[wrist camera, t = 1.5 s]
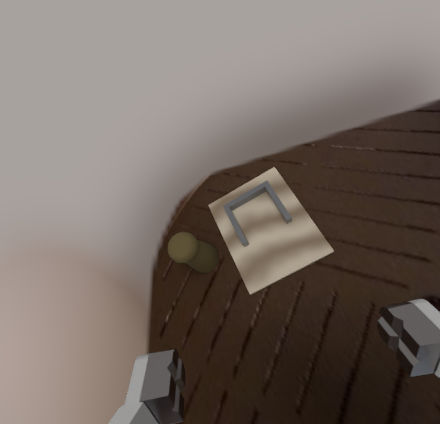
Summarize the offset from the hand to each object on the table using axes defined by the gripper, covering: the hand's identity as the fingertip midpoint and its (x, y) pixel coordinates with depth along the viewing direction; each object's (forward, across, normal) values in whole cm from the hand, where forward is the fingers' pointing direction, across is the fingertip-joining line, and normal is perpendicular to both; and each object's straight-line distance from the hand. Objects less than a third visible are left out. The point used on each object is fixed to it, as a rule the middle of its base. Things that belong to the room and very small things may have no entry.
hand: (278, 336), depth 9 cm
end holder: (+34, -5, +14) cm, 37 cm away
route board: (+33, -6, +16) cm, 37 cm away
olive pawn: (+33, +7, +20) cm, 39 cm away
